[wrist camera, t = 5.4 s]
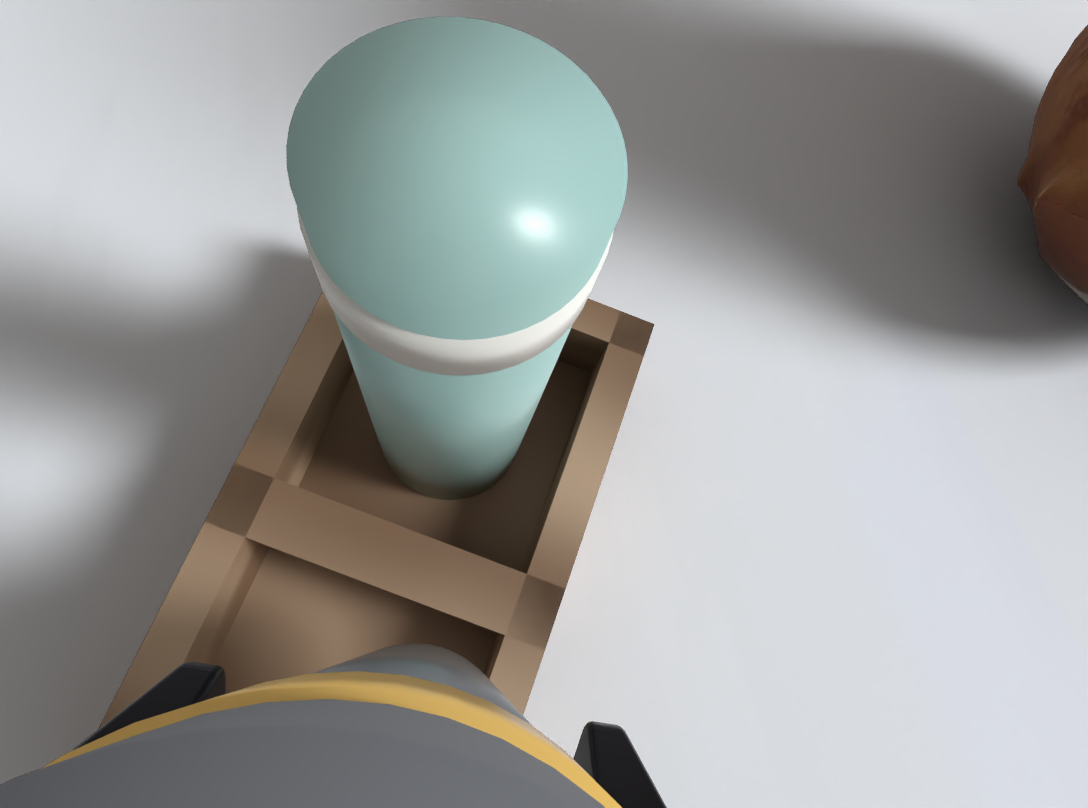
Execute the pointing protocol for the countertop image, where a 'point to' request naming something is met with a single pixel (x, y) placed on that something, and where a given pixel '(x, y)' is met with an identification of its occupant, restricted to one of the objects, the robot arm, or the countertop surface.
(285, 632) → the slot rack
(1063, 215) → the butternut squash
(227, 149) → the countertop surface
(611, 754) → the robot arm
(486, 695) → the plug charcoal
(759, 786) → the countertop surface
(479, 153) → the plug teal
